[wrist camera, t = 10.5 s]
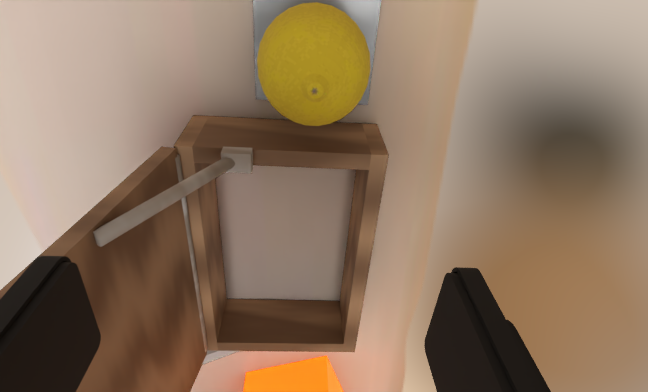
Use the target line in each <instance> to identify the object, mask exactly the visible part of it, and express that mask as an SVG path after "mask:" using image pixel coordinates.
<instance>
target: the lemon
mask: <svg viewBox="0 0 648 392" xmlns="http://www.w3.org/2000/svg"><path fill="white" fill-rule="evenodd" d="M257 66H258V77H259V80H260V83H261V86H262V89H263V92H264V94H265V96H266V97H267V99H268V100H269V102H270V103H271V105H272V106H273V107H274V108H275V109H276V110H277V111H278V112H279V113H280V114H281V115H282V116H284V117H286V118H288V119H289V120H291V121H293V122H296V123H299V124H302V125H308V126H321V125H326V124H331V123H333V122H335V121H338V120H340V119H342V118H343V117H344V116H346V115H347V114H348V113H350V112H351V111H352V110H353V109H354V107H355V106H356V105H357V104H358V103H359V101H360V100H361V98H362V96H363V94H364V92H365V90H366V88H367V85H368V80H369V75H370V52H369V49H368V46H367V42H366V39H365V36H364V35H363V33H362V32H361V30H360V28H359V27H358V25H357V24H356V23H355V22H354V21H353V20H352V19H351V18H350V17H349V16H348V15H347V14H346V13H345V12H343V11H341V10H339V9H337V8H335V7H334V6H332V5H327V4H322V3H318V2H315V3H302V4H299V5H296V6H293V7H291V8H288V9H287V10H286V11H284V12H283V13H281V14H280V15H278V16H277V17H276V18H275V19H274V20H273V22H272V23H271V24H270V25H269V26H268V28H267V29H266V31H265V33H264V35H263V38H262V40H261V42H260V45H259V51H258V57H257Z"/></svg>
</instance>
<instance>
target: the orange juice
mask: <svg viewBox="0 0 648 392" xmlns="http://www.w3.org/2000/svg"><path fill="white" fill-rule="evenodd" d="M243 392H343V390H342V387H341V385H340V383H339V381H338V379H337V377H336V375H335V372H334V370H333V368H332V366H331V364H330V362H329V360H328V357H327V356H322V357H317V358H313V359H308V360H303V361H298V362H294V363H289V364H284V365H279V366H274V367H270V368H265V369H260V370H255V371H251V372H246V376H245V383H244V390H243Z"/></svg>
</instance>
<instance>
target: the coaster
mask: <svg viewBox="0 0 648 392" xmlns="http://www.w3.org/2000/svg"><path fill="white" fill-rule="evenodd" d="M315 2H318V3H322V4H327V5H332V6H334V7H335V8H337V9H339V10H341V11H343V12H345V13H346V14H347V15H348V16H349V17H350V18H351V19H352V20H353V21H354V22H355V23H356V24H357V25H358V27H359V28H360V30H361V32H362V33H363V35H364V36H365V39H366V42H367V46H368V49H369V52H370V75H369V80H368V85H367V88H366V90H365V92H364V94H363V96H362V98H361V100H360V101H359V103H358V104H357V105H368V98H369V91H370V83H371V75H372V68H373V60H374V53H375V45H376V37H377V30H378V22H379V14H380V7H381V0H253V21H254V56H255V91H256V99H260V100H268V99H267V97H266V96H265V94H264V92H263V89H262V86H261V83H260V80H259V77H258V66H257V57H258V51H259V45H260V42H261V40H262V38H263V35H264V33H265V31H266V29H267V28H268V26H269V25H270V24H271V23H272V22H273V20H274V19H275V18H276V17H277V16H278V15H280V14H281V13H283V12H284V11H286V10H287V9H288V8H291V7H293V6H296V5H299V4H302V3H315Z"/></svg>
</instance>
